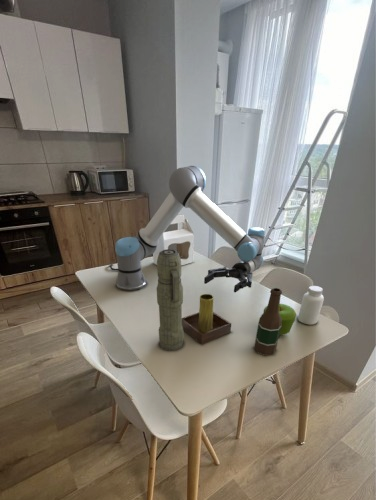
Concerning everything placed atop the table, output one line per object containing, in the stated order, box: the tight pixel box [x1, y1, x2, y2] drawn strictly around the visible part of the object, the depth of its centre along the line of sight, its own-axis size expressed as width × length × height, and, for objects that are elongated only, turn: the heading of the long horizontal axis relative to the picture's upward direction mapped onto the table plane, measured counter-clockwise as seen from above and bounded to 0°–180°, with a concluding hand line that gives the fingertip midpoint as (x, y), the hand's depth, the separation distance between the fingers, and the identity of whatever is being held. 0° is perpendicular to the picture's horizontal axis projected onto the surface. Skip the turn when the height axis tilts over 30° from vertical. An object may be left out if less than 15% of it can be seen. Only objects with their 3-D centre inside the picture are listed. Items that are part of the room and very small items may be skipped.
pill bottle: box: [297, 285, 325, 326], centre depth 119 cm, size 8×8×15 cm
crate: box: [182, 311, 232, 345], centre depth 115 cm, size 15×15×4 cm
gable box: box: [152, 213, 195, 266], centre depth 173 cm, size 22×13×28 cm, turn 126°
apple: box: [262, 303, 297, 336], centre depth 113 cm, size 12×12×11 cm
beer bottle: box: [254, 287, 283, 356], centre depth 99 cm, size 8×8×24 cm
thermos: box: [156, 248, 184, 351], centre depth 98 cm, size 9×12×35 cm
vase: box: [198, 293, 214, 332], centre depth 112 cm, size 6×6×14 cm
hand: (219, 284), depth 114 cm, fingers open, 13 cm apart
